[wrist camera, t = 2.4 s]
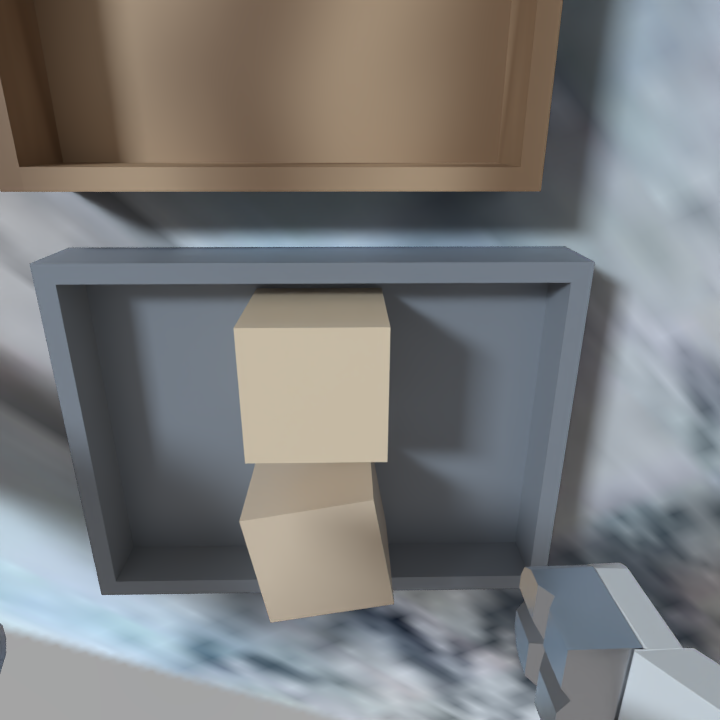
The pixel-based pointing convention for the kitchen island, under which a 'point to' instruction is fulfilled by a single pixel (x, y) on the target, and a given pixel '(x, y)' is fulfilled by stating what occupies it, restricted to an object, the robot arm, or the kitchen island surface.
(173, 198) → the kitchen island surface
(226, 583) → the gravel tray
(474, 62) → the brown rectangular tray
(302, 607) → the beige cube
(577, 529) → the kitchen island surface
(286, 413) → the cream matte cube
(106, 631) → the kitchen island surface
